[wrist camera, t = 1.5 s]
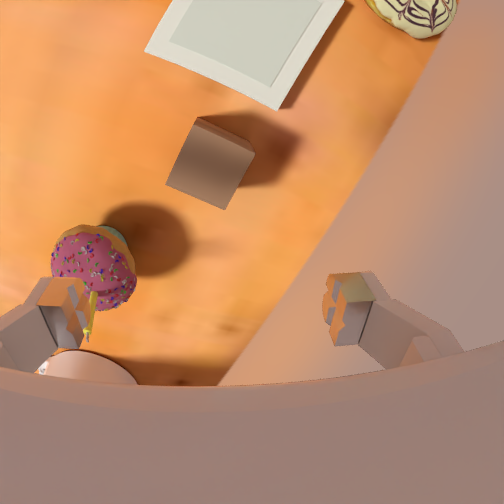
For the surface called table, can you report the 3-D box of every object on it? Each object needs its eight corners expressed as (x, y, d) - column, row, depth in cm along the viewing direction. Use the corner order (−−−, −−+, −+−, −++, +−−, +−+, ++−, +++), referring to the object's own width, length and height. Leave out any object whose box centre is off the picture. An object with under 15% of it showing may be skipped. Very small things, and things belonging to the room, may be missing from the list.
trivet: (273, 109, 26) (277, 111, 24) (147, 53, 22) (143, 51, 20) (338, 4, 21) (345, 0, 19) (216, -56, 17) (216, -63, 16)
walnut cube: (223, 188, 29) (224, 210, 25) (173, 166, 27) (165, 184, 23) (249, 141, 27) (255, 153, 23) (197, 116, 25) (193, 124, 21)
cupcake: (160, 241, 31) (137, 326, 21) (119, 293, 34) (92, 378, 23) (91, 191, 27) (33, 257, 17) (57, 251, 30) (7, 326, 20)
